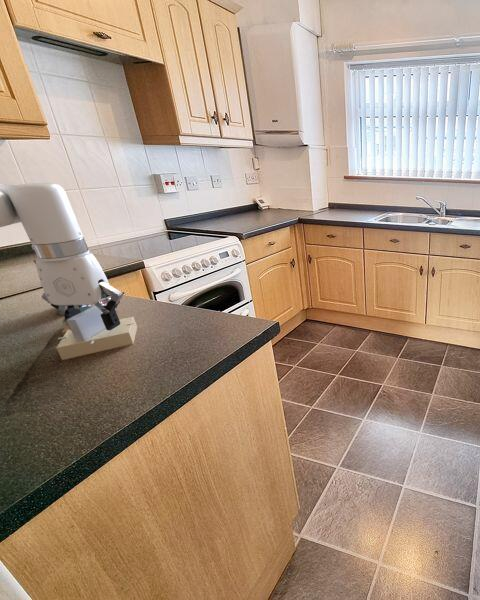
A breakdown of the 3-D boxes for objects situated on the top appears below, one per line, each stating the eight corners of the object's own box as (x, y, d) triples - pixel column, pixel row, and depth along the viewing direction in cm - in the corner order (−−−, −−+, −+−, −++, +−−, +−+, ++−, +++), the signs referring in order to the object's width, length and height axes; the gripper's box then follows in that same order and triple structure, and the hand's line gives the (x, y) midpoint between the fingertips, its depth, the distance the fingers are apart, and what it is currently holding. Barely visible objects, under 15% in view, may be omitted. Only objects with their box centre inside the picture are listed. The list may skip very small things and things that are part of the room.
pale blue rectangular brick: (84, 341, 70) (74, 318, 68) (76, 341, 70) (65, 319, 68) (117, 321, 78) (109, 300, 76) (109, 321, 78) (101, 300, 76)
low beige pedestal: (55, 366, 67) (48, 352, 66) (72, 337, 78) (66, 325, 76) (135, 347, 73) (130, 334, 72) (141, 323, 84) (137, 312, 82)
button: (73, 320, 79) (70, 313, 78) (77, 314, 82) (74, 308, 81) (93, 316, 80) (90, 310, 80) (96, 311, 83) (93, 304, 83)
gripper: (-2, 255, 63) (40, 337, 71) (90, 253, 63) (123, 335, 71) (36, 245, 70) (72, 320, 77) (120, 243, 70) (147, 319, 77)
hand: (96, 327), depth 74 cm, fingers open, 7 cm apart
